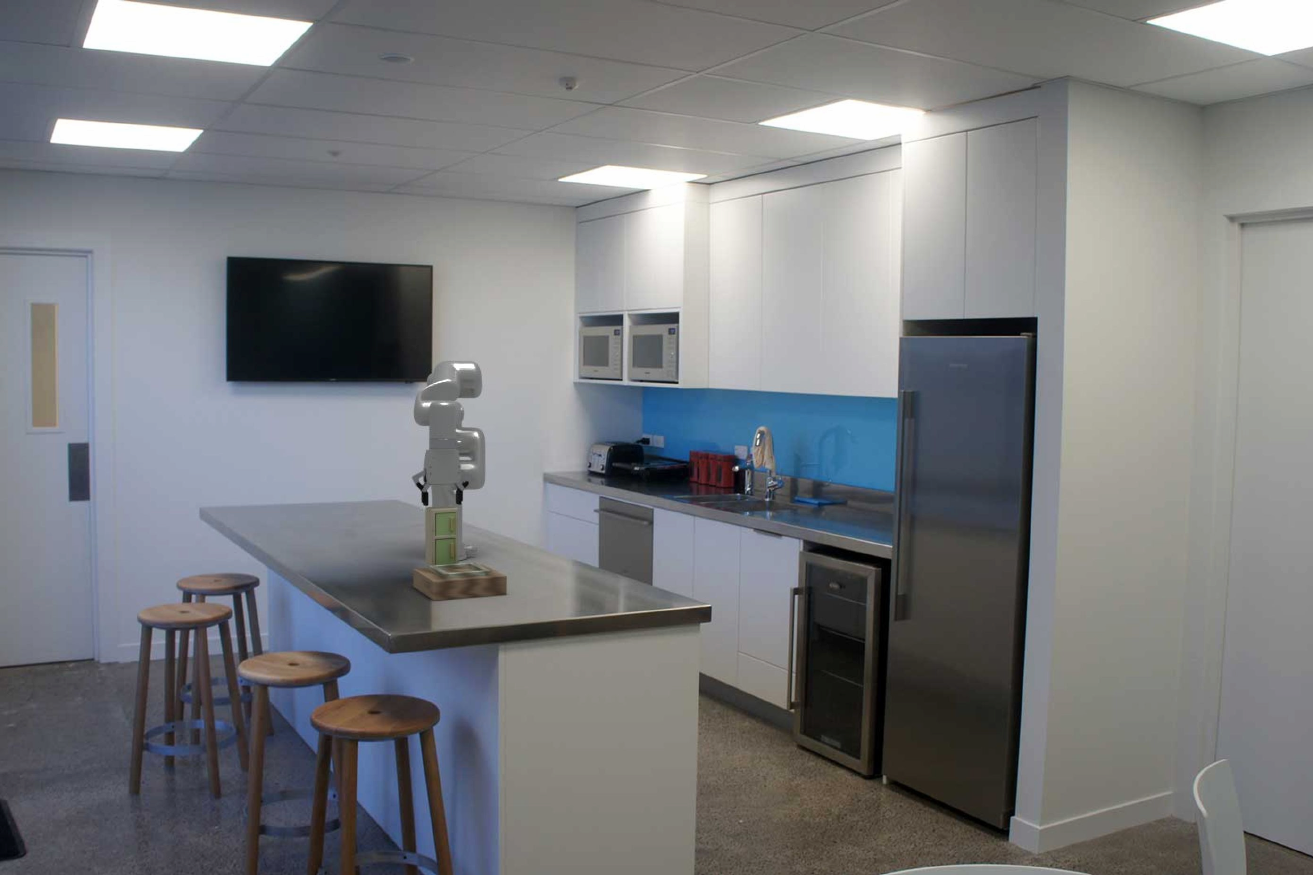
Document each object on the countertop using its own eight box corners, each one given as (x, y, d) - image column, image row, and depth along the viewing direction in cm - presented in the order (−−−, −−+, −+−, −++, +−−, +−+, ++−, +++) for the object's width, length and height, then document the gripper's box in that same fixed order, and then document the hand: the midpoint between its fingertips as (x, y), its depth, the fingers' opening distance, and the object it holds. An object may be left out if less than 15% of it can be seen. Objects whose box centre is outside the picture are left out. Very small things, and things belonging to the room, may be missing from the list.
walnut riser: (482, 581, 320) (482, 559, 319) (506, 594, 302) (506, 571, 302) (413, 586, 311) (413, 564, 310) (434, 600, 293) (434, 577, 292)
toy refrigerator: (432, 583, 315) (432, 509, 314) (424, 579, 322) (425, 506, 321) (459, 581, 319) (459, 508, 318) (451, 577, 326) (452, 505, 324)
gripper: (467, 444, 325) (467, 502, 326) (409, 444, 317) (408, 504, 318) (476, 445, 319) (475, 505, 319) (416, 446, 310) (416, 507, 311)
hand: (442, 504), depth 319 cm, fingers open, 9 cm apart
